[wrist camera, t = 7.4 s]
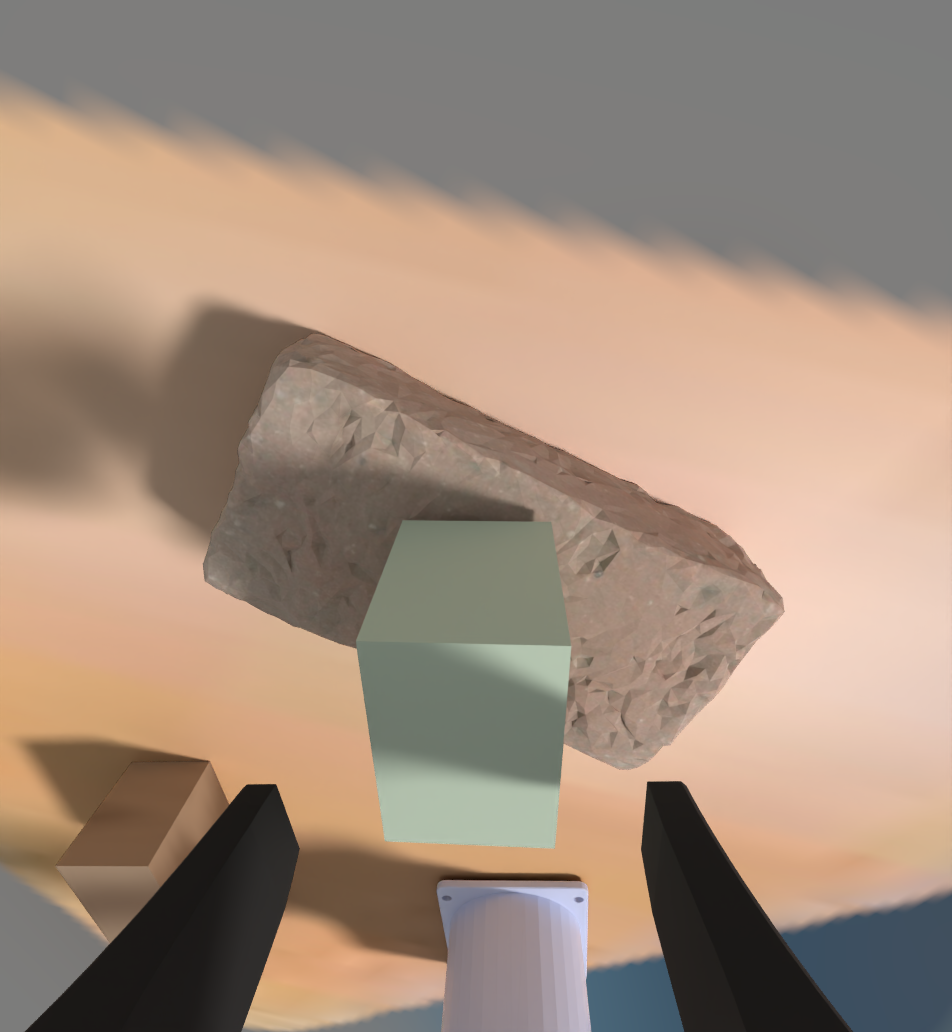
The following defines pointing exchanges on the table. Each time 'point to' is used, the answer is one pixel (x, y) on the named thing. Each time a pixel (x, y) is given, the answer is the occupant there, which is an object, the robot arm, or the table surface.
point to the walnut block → (140, 838)
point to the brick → (482, 497)
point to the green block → (468, 683)
